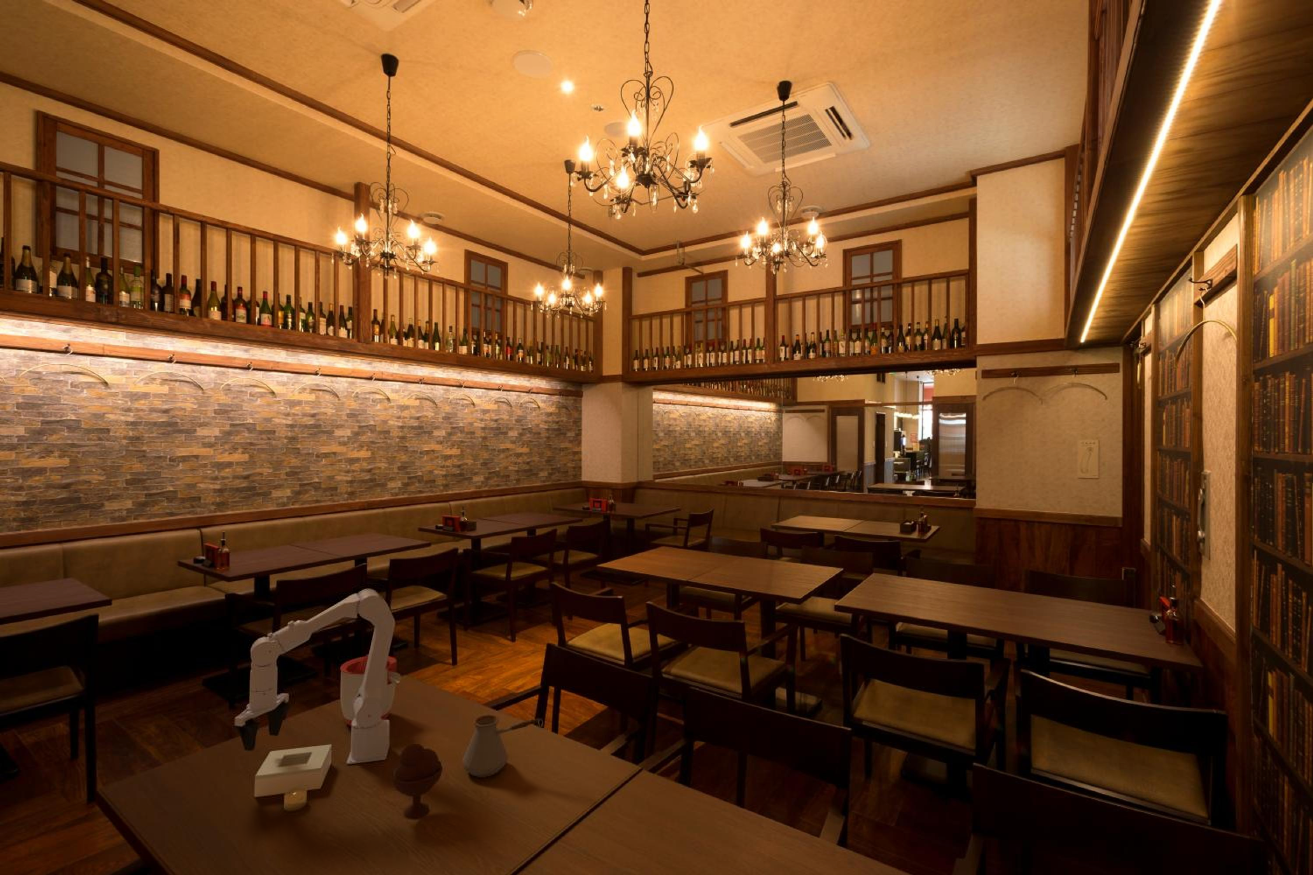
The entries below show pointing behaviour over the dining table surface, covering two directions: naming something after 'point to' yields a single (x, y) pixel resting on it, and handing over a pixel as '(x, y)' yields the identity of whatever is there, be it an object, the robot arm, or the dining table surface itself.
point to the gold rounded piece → (295, 799)
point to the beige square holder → (293, 770)
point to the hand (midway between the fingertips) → (262, 742)
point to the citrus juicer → (353, 680)
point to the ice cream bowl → (416, 776)
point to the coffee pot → (488, 746)
